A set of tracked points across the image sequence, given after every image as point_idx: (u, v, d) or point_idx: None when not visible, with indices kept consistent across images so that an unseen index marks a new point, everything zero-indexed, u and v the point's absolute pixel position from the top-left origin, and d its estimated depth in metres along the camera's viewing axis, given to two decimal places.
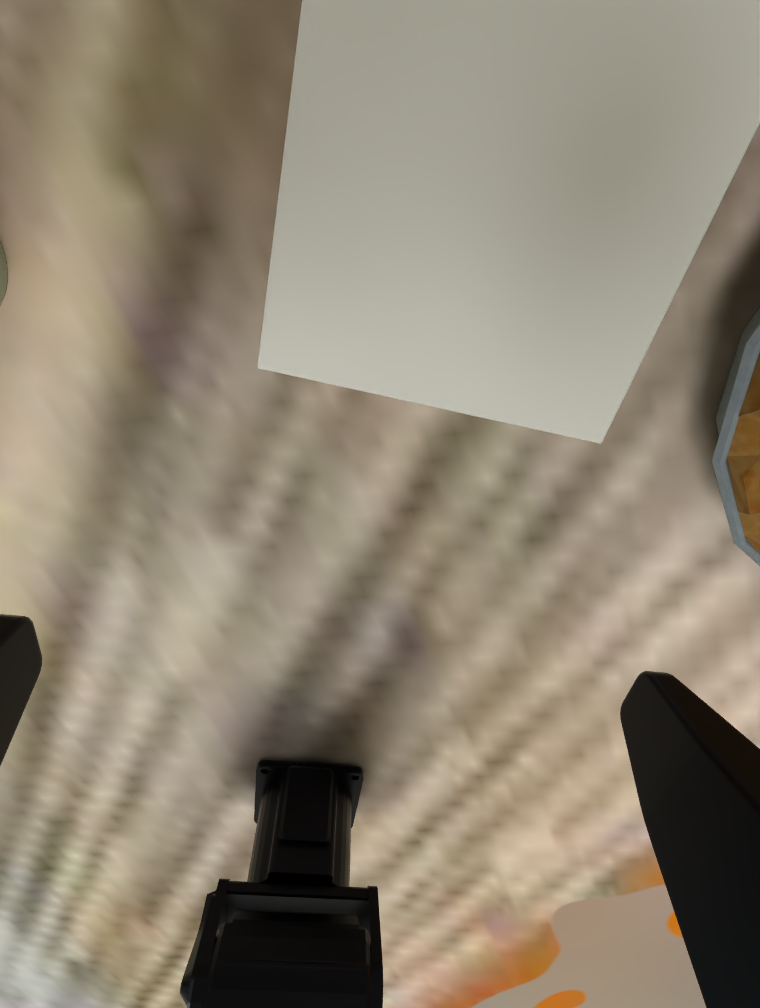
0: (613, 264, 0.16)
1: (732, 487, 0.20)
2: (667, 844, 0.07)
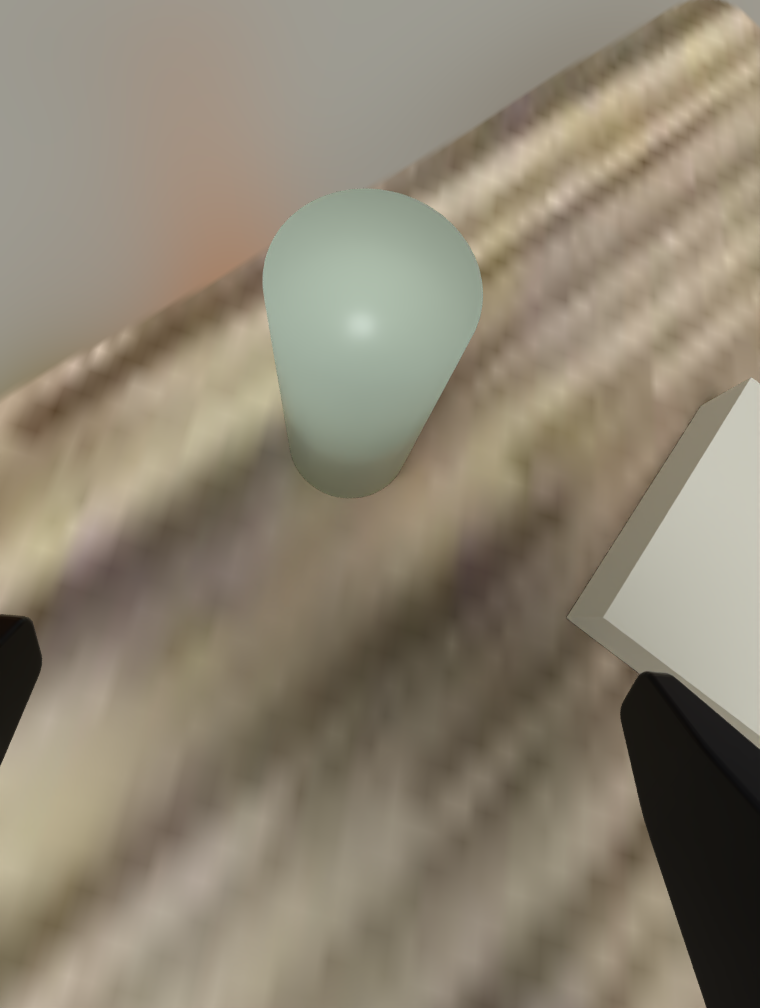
0: None
1: None
2: (667, 844, 0.07)
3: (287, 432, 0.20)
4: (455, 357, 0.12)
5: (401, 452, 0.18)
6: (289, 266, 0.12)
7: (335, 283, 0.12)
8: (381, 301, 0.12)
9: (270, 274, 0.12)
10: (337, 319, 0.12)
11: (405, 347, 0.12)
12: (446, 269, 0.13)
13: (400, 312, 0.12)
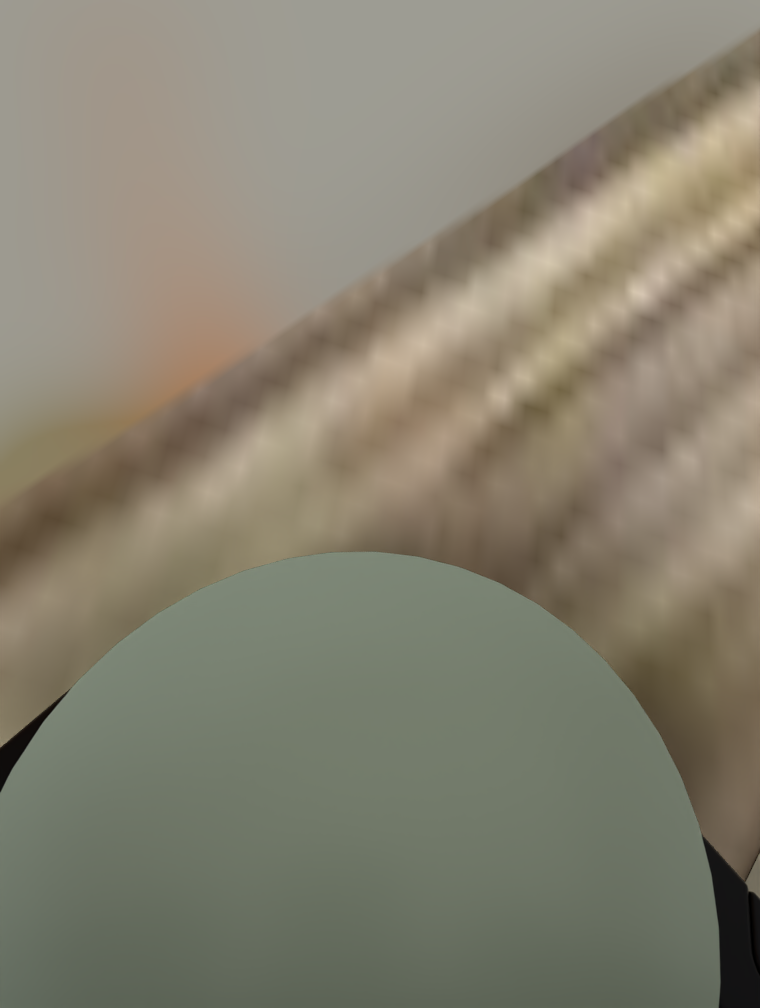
0: None
1: None
2: None
3: None
4: None
5: None
6: (53, 897, 0.03)
7: (220, 950, 0.03)
8: None
9: None
10: None
11: None
12: (595, 838, 0.04)
13: None
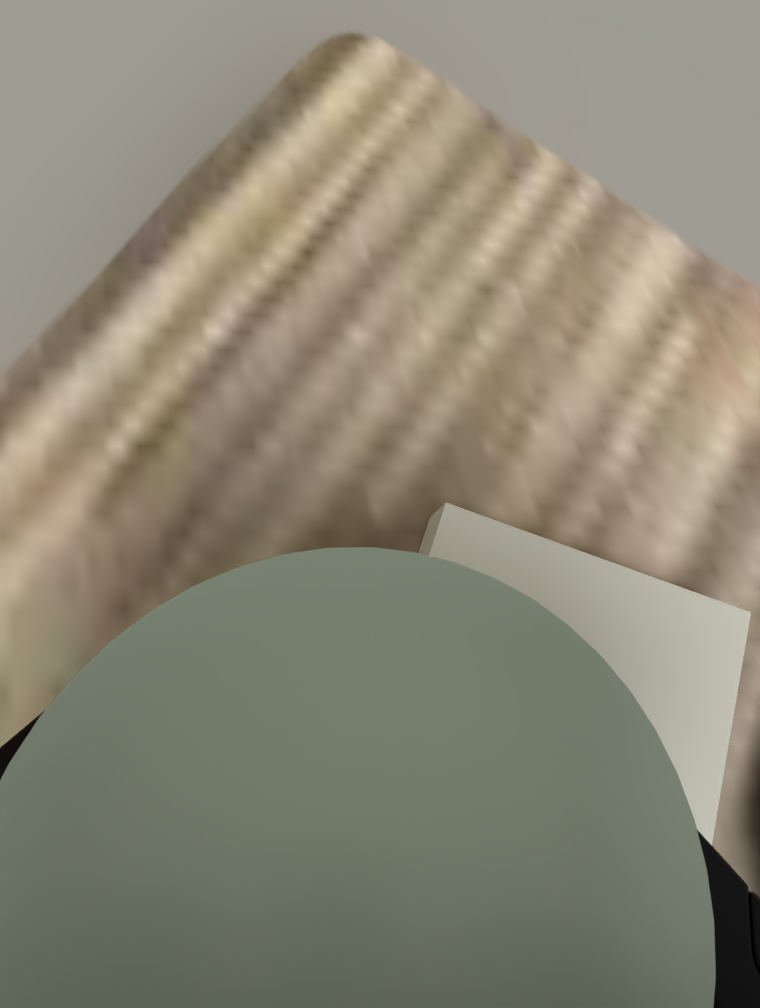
0: None
1: None
2: None
3: None
4: None
5: None
6: (50, 890, 0.03)
7: (215, 944, 0.03)
8: (380, 1002, 0.04)
9: None
10: None
11: None
12: (590, 835, 0.04)
13: None
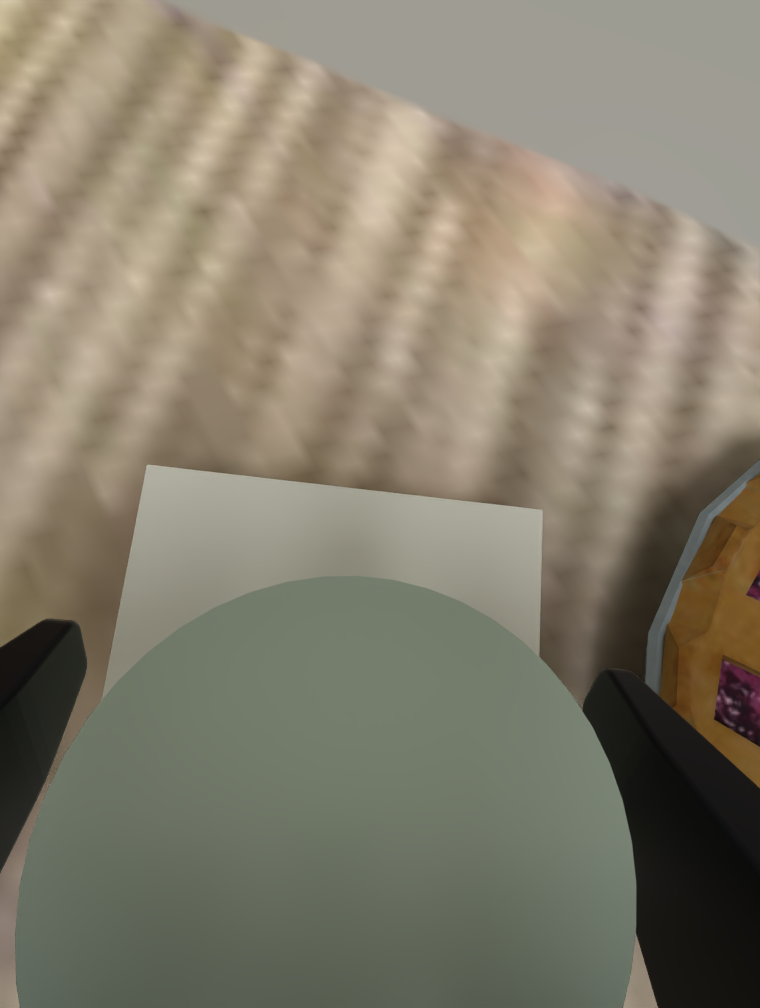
0: None
1: None
2: None
3: None
4: None
5: None
6: (100, 855, 0.04)
7: (231, 897, 0.04)
8: (362, 944, 0.04)
9: (39, 895, 0.04)
10: None
11: None
12: (535, 812, 0.05)
13: (416, 979, 0.04)
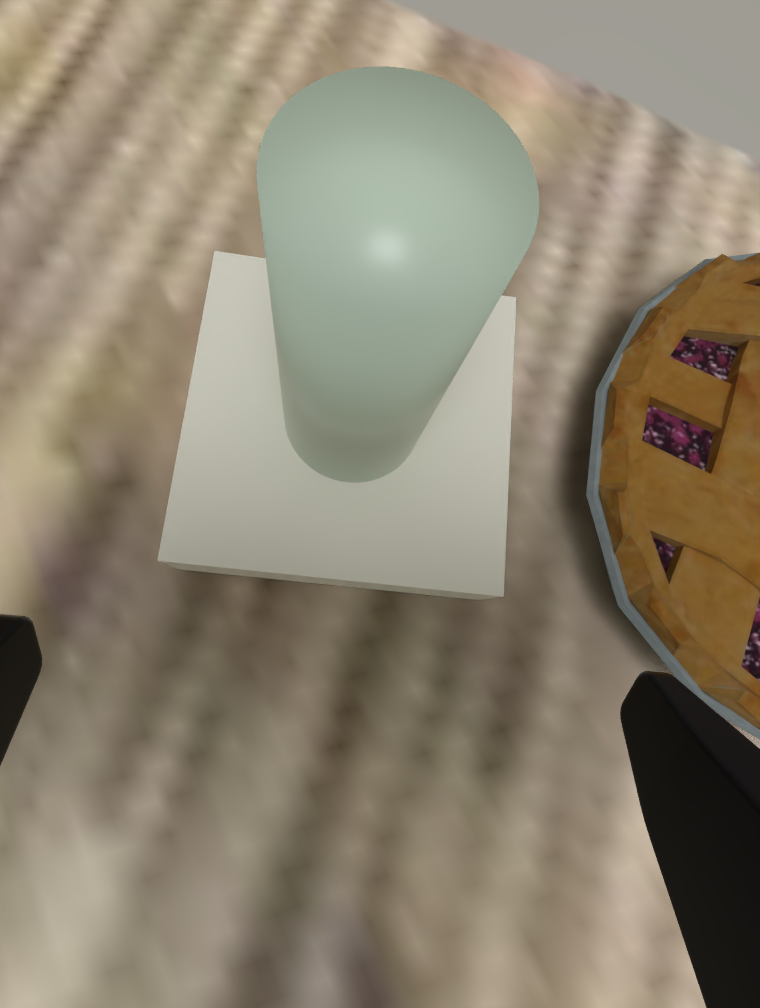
0: (452, 443, 0.20)
1: (651, 628, 0.20)
2: (667, 844, 0.07)
3: (283, 402, 0.17)
4: (507, 276, 0.09)
5: (419, 421, 0.15)
6: (292, 156, 0.09)
7: (351, 179, 0.09)
8: (411, 203, 0.10)
9: (266, 165, 0.09)
10: (354, 223, 0.09)
11: (443, 261, 0.09)
12: (491, 167, 0.10)
13: (436, 218, 0.10)
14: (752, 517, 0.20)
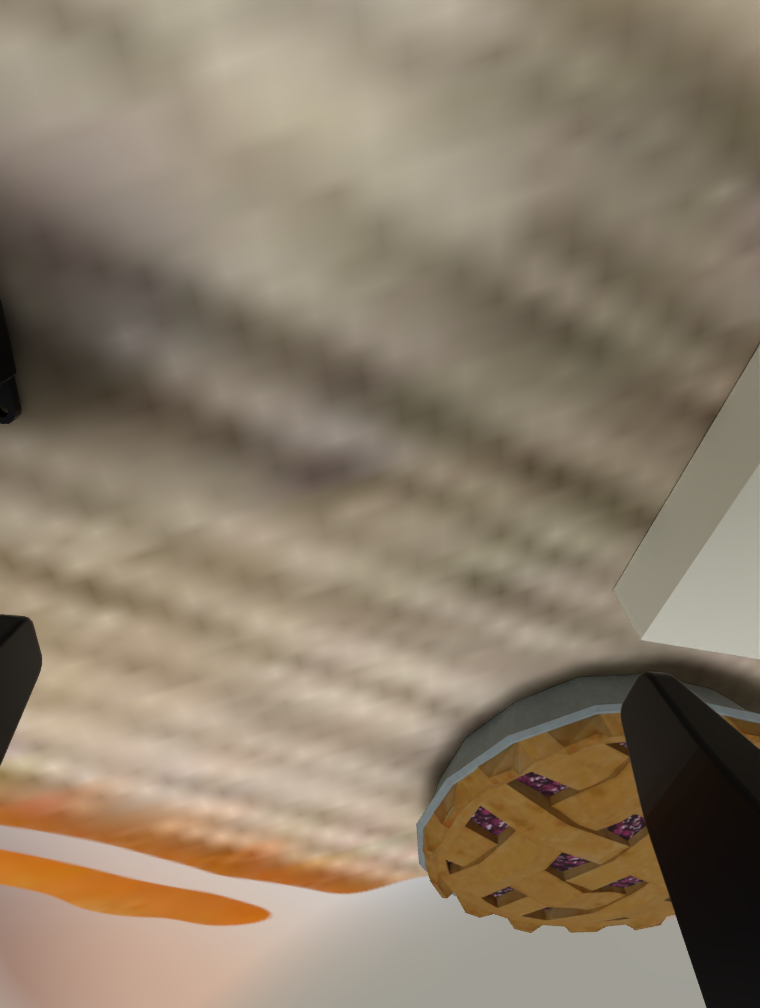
0: None
1: (570, 723, 0.25)
2: (667, 844, 0.07)
3: None
4: None
5: None
6: None
7: None
8: None
9: None
10: None
11: None
12: None
13: None
14: (638, 800, 0.26)
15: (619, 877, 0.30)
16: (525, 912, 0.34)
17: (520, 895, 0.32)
